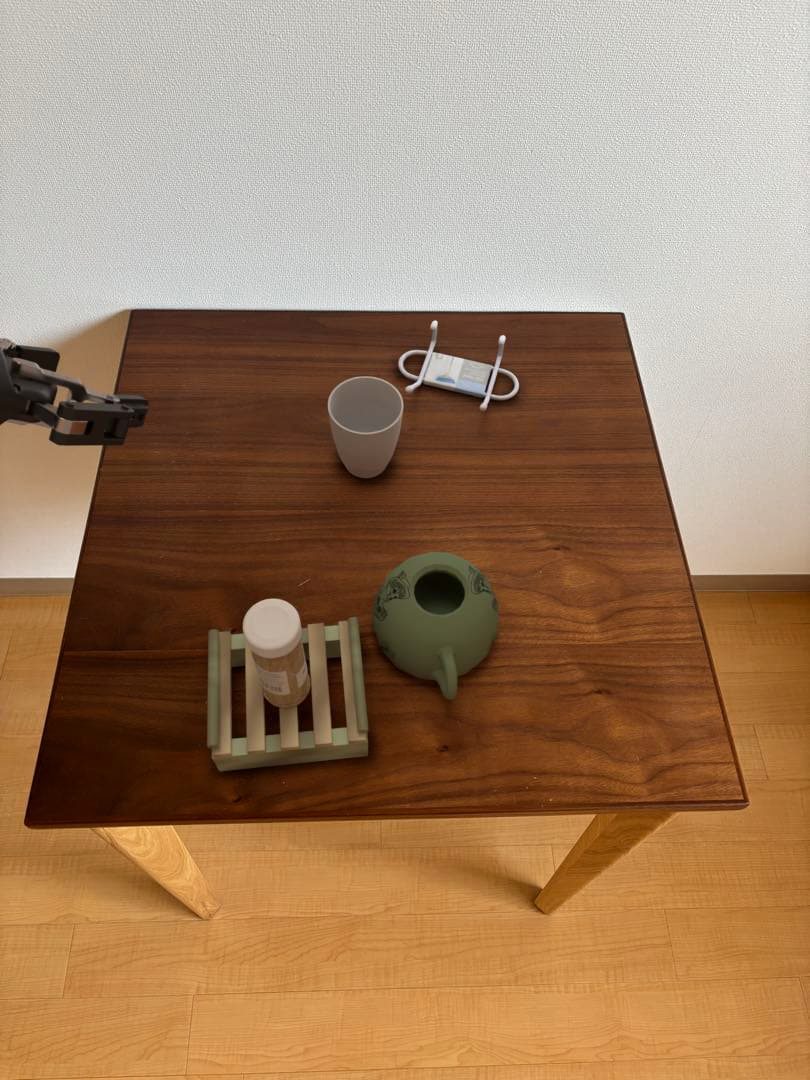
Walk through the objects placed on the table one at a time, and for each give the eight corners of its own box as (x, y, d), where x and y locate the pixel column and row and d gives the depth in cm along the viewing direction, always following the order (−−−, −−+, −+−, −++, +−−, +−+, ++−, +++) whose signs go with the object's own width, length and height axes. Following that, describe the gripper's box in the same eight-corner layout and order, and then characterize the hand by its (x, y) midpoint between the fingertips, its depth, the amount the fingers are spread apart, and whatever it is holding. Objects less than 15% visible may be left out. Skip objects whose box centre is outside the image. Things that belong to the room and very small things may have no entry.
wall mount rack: (524, 365, 105) (532, 332, 100) (504, 445, 98) (511, 413, 93) (407, 340, 107) (409, 305, 102) (379, 416, 100) (379, 383, 95)
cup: (367, 423, 99) (367, 365, 90) (414, 462, 96) (419, 406, 88) (317, 459, 96) (312, 402, 87) (364, 501, 93) (363, 446, 84)
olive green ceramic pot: (365, 580, 87) (365, 538, 80) (484, 570, 89) (494, 527, 81) (381, 724, 79) (382, 691, 72) (511, 710, 80) (526, 677, 73)
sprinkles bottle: (320, 686, 76) (312, 623, 64) (282, 719, 74) (266, 660, 62) (289, 653, 77) (274, 586, 66) (251, 685, 76) (229, 620, 64)
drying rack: (217, 771, 76) (206, 750, 71) (218, 653, 82) (207, 625, 77) (369, 756, 77) (369, 733, 72) (358, 641, 84) (357, 612, 78)
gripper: (8, 365, 42) (189, 379, 58) (-179, 263, 46) (38, 301, 61) (-28, 494, 44) (157, 474, 60) (-204, 387, 48) (12, 394, 63)
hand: (97, 387), depth 60 cm, fingers open, 8 cm apart
